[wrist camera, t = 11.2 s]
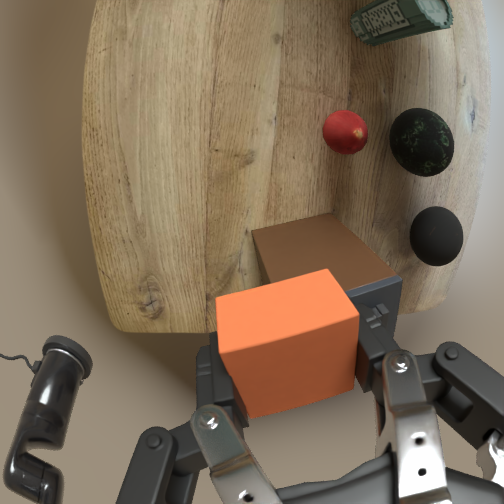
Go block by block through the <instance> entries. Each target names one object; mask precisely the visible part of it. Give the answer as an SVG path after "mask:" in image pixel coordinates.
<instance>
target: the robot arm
mask: <svg viewBox="0 0 504 504" xmlns="http://www.w3.org/2000/svg"><path fill="white" fill-rule="evenodd" d="M348 298H349V299H350V301H351V302H352V304H353V305H354V306H355V308H356V309H357V311H358V312H359V332H358V346H357V358H356V369H355V376H356V378H357V380H358V382H359V384H360V386H361V388H362V390H363V392H364V393H366V392H368V391H371V390H372V392H373V394H374V396H375V397H374V409H375V422H376V436H377V437H376V440H377V441H376V448H375V459H372V460H370V461H367V462H365V463H363V464H362V465H360V466H359V467H357V468H355V469H354V470H352V471H351V472H349V473H348V474H346V475H345V476H343V477H341V478H339V479H337V480H332V481H321V482H306V483H305V482H304V483H301V484H297V485H293V486H289V487H284V488H279V489H275V487H274V486H273V484H272V483H271V481H270V480H269V478H268V477H267V475H266V474H265V473H264V471H263V470H262V468H261V466H260V465H259V464H258V462H257V460H256V458H255V457H254V455H253V454H252V452H251V450H250V449H249V447H248V445H247V444H246V442H245V440H244V433H243V428H245V427H249V423H248V417H247V411H246V406H245V404H244V402H243V400H242V398H241V396H240V394H239V392H238V389H237V387H236V385H235V383H234V381H233V379H232V377H231V376H229V374H228V372H227V370H226V368H225V365H224V363H223V361H222V359H221V357H220V354H219V349H218V335H217V331H215V332H211V333H210V345H207V346H203V347H201V348H200V350H199V352H198V354H197V356H196V368H197V369H196V375H197V377H196V394H197V408H196V411H195V412H194V413H193V415H192V416H191V419H190V420H189V421H188V422H186V423H185V424H183V425H181V426H178V427H176V428H174V429H171V430H169V431H168V430H166V429H165V428H163V427H151V428H149V429H147V430H146V431H144V432H143V433H142V434H141V436H140V438H139V440H138V443H137V445H136V448H135V451H134V453H133V456H132V459H131V461H130V464H129V467H128V470H127V473H126V476H125V478H124V481H123V484H122V487H121V489H120V492H119V495H118V498H117V501H116V504H192V500H193V496H194V492H195V488H196V483H197V480H198V476H199V471H200V470H202V469H204V468H207V467H209V469H210V477H211V480H212V483H213V485H214V486H215V488H216V490H217V492H218V494H219V496H220V498H221V500H222V502H223V504H504V377H503V376H502V375H500V374H499V373H498V372H497V371H495V370H494V369H493V368H491V367H490V366H489V365H487V364H486V363H485V362H483V361H482V360H481V359H479V358H478V357H477V356H475V355H474V354H472V353H471V352H470V351H468V350H467V349H466V348H464V347H463V346H461V345H460V344H458V343H456V342H445V343H443V344H441V345H440V346H439V347H438V348H437V350H436V353H431V354H425V355H413V354H412V353H411V352H409V351H407V350H403V349H401V348H400V347H399V346H398V345H397V343H396V342H395V341H394V339H393V337H392V336H391V335H390V333H389V332H388V330H387V329H386V328H385V326H384V325H382V322H381V321H380V320H379V318H377V315H376V314H375V313H374V311H373V310H372V309H371V308H369V307H368V306H366V305H364V304H363V303H361V304H358V305H355V303H354V302H353V301H352V299H351V298H350V297H349V296H348ZM0 357H2V358H5V359H8V360H15V359H18V358H23V359H25V361H26V363H27V365H28V367H29V368H30V369H31V370H32V372H33V373H34V374H35V376H34V378H33V380H32V383H31V390H30V393H29V395H28V398H27V401H26V404H25V406H24V409H23V411H22V414H21V417H20V420H19V423H18V426H17V429H16V433H15V435H14V438H13V441H12V444H11V447H10V449H9V452H8V455H7V458H6V461H5V465H4V469H3V481H4V484H5V486H6V487H7V488H8V489H9V490H11V491H12V492H14V493H16V494H18V495H20V496H22V497H24V498H26V499H28V500H30V501H32V502H34V503H36V504H62V502H63V494H64V476H63V474H62V472H61V470H60V469H58V468H57V467H55V466H53V465H51V464H49V463H47V462H46V463H45V461H43V460H41V459H39V458H37V457H35V456H34V455H32V454H29V453H28V451H29V450H31V449H48V450H61V449H62V448H63V445H64V441H65V437H66V433H67V429H68V425H69V421H70V417H71V413H72V410H73V406H74V403H75V399H76V396H77V393H78V390H79V386H80V385H81V384H83V381H84V380H83V381H81V380H82V377H83V375H84V372H85V367H84V365H83V363H82V362H81V360H80V359H79V358H78V357H77V356H75V355H74V354H73V353H71V352H70V351H68V350H66V349H63V348H60V347H51V348H49V349H48V351H47V353H46V354H44V356H43V358H42V360H41V361H35V362H34V365H33V367H32V366H31V365H30V363H29V361H28V359H27V357H25V356H24V355H18V356H14V357H8V356H4V355H2V354H0ZM436 414H437V415H438V416H440V417H441V418H442V419H443V420H444V421H445V422H446V423H447V424H448V425H450V426H451V427H452V428H453V429H454V430H455V431H456V432H457V433H459V434H460V435H461V436H462V437H463V438H464V439H465V440H466V441H467V442H468V443H470V444H471V445H472V446H473V447H474V448H475V449H476V450H477V460H476V463H477V465H478V466H479V467H481V468H482V471H483V479H482V478H479V477H475V476H472V475H469V474H465V473H462V472H459V471H456V470H453V469H450V468H448V467H445V464H444V456H443V449H442V443H441V436H440V430H439V425H438V420H437V415H436Z"/></svg>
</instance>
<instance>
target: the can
mask: <svg viewBox="0 0 504 504" xmlns="http://www.w3.org/2000/svg"><path fill="white" fill-rule="evenodd" d="M451 12H452V10H451V8H450V6H449V4H448V2H447V0H376V1H374V2H372V3H370V4H368V5H366V6H364V7H363V8H361V9H359V10H357V11H356V12H354V14H353V15H351V16H352V17H351V20H350V23H351V24H352V25H350V27H351V29H352V30H353V32H354V34H355V36H356V37H359V39H360V41H363V42H364V43H366V44H367V45H370V44H372V46H376V45H380V44H384V43H387V42H391V41H394V40H398V39H402V38H405V37H409V36H413V35H418V34H422V33H427V32H431V31H436V30H442V29H447V28H451V27H450V25H453V23H452V21H453V19H452V18H454V17H453V15H452V13H451Z"/></svg>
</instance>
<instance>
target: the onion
mask: <svg viewBox="0 0 504 504" xmlns="http://www.w3.org/2000/svg"><path fill="white" fill-rule="evenodd" d="M323 138H324V139H325V141H326V143H327V145H328V146H329V147H330V148H331V149H332V150H334V151H335V152H338V153H340V154H345V155H346V154H355V153H356V152H358V151H360V150H362V149H363V147H364V146H365V145H366V143H367V139H368V130H367V126H366V124H365V122H364V120H363V119H362V118H361V117H360V116H359V115H357V114H356V113H353V112H351V111H348V110H339V111H336V112H334V113H332V114H330V115H329V117H328V118H327V119H326V120H325V123H324V126H323Z"/></svg>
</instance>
